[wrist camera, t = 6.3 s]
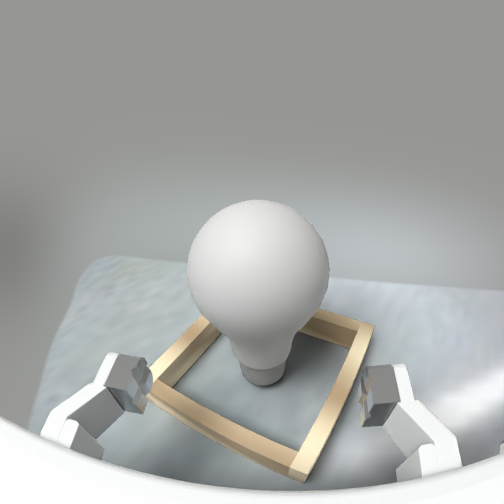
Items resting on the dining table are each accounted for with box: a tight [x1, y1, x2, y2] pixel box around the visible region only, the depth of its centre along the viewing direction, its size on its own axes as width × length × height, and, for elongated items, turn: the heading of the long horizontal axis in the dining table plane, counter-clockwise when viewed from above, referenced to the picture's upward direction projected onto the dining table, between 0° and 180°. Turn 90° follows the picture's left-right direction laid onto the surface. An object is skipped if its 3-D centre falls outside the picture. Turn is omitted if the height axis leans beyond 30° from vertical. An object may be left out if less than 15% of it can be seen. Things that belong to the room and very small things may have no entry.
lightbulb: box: [187, 200, 330, 385], centre depth 15 cm, size 6×6×11 cm
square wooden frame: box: [146, 309, 375, 483], centre depth 18 cm, size 10×10×2 cm
